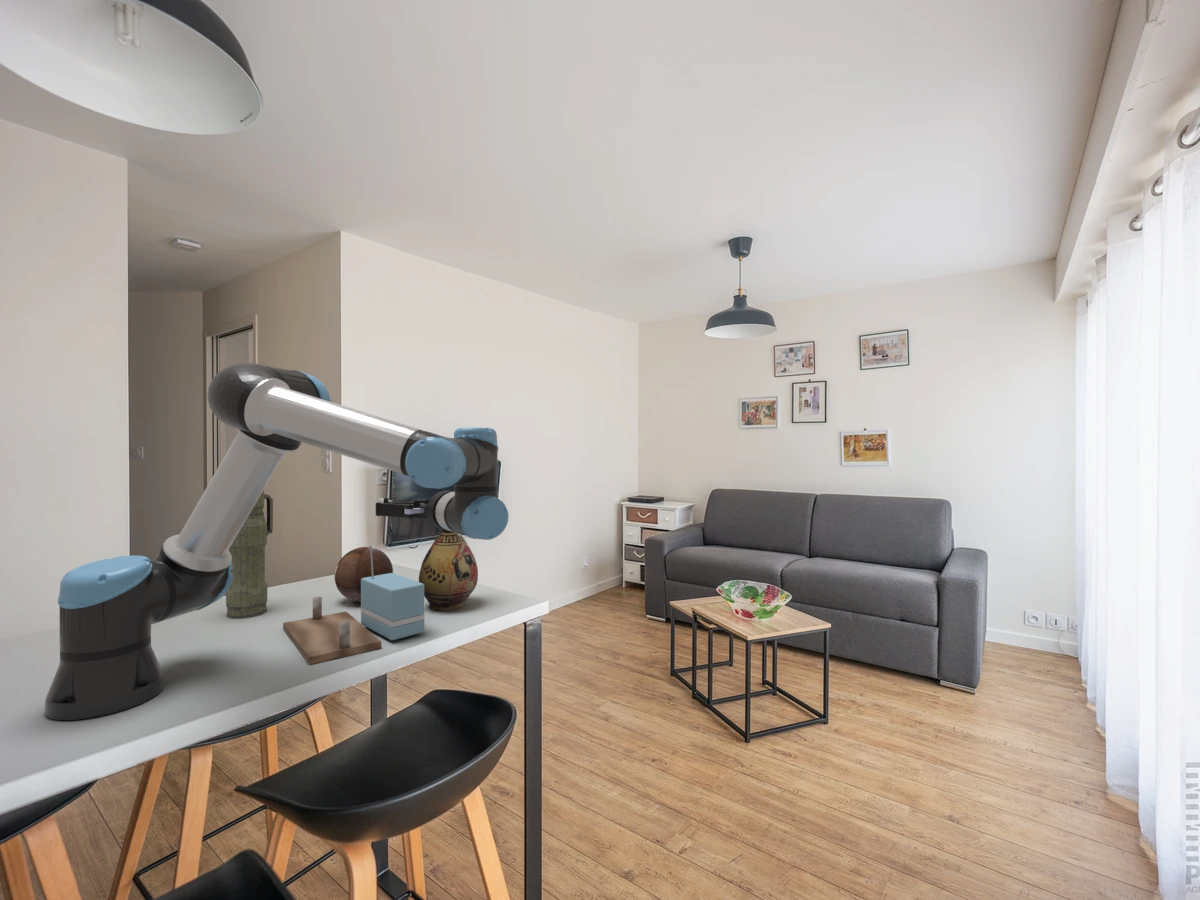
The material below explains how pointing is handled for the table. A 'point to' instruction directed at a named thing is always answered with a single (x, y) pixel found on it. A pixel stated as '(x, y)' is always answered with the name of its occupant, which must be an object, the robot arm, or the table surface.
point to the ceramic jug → (448, 572)
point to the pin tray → (329, 635)
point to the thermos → (250, 564)
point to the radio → (392, 605)
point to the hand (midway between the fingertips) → (411, 502)
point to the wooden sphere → (359, 570)
